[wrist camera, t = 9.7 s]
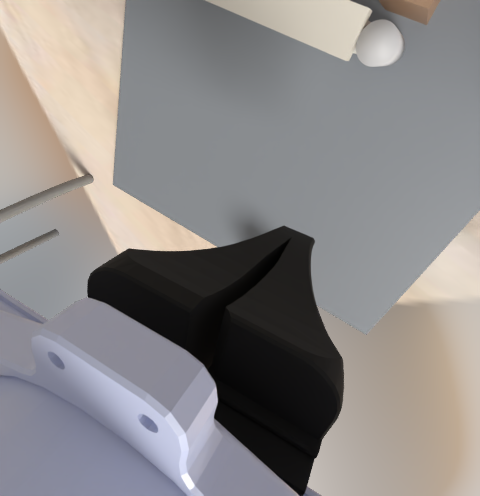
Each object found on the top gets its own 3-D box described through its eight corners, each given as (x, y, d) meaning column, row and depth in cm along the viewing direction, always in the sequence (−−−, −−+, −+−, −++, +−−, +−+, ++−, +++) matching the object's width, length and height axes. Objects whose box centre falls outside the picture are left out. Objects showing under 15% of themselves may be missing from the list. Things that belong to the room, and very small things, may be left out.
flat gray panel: (688, -25, 11) (878, -89, 7) (367, 331, 24) (353, 397, 19) (144, -184, 16) (29, -286, 11) (116, 183, 28) (56, 207, 24)
